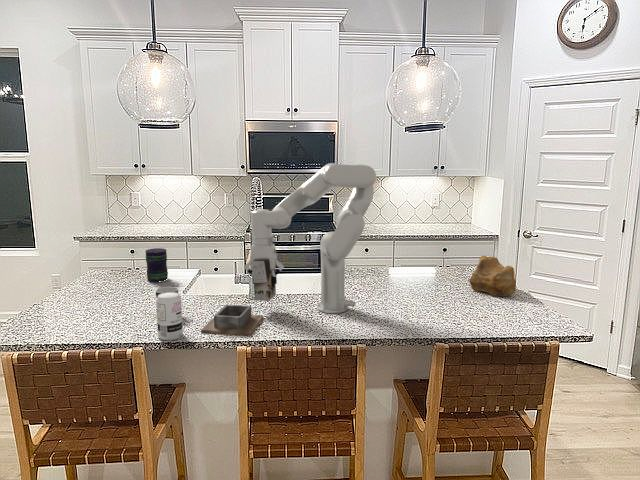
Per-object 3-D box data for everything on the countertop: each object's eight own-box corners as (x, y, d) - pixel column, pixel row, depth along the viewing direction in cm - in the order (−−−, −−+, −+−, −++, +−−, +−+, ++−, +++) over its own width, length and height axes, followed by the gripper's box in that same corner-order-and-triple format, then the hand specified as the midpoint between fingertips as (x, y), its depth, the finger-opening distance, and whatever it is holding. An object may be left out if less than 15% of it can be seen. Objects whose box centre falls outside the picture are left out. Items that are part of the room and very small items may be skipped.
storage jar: (153, 277, 246) (151, 247, 243) (171, 277, 245) (170, 248, 242) (143, 282, 236) (141, 252, 233) (162, 283, 235) (160, 252, 232)
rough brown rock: (458, 287, 234) (458, 257, 231) (490, 282, 237) (490, 252, 234) (485, 303, 212) (485, 270, 208) (519, 298, 215) (520, 265, 212)
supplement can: (161, 332, 173) (158, 291, 170) (185, 331, 173) (183, 291, 171) (155, 341, 165) (153, 298, 162) (180, 340, 166) (178, 298, 163)
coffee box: (269, 301, 189) (267, 260, 186) (254, 300, 190) (251, 260, 187) (276, 294, 198) (274, 255, 195) (261, 293, 199) (259, 255, 196)
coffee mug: (155, 312, 194) (154, 288, 192) (178, 309, 197) (177, 285, 195) (158, 322, 183) (157, 296, 181) (182, 319, 186) (181, 293, 185)
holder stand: (263, 318, 188) (263, 304, 187) (250, 335, 170) (250, 320, 169) (218, 315, 190) (217, 302, 189) (201, 332, 173) (200, 317, 172)
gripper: (286, 239, 192) (288, 283, 196) (243, 239, 195) (246, 282, 198) (282, 243, 185) (284, 288, 188) (237, 243, 187) (240, 288, 191)
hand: (264, 285), depth 193 cm, fingers closed on coffee box, 6 cm apart
